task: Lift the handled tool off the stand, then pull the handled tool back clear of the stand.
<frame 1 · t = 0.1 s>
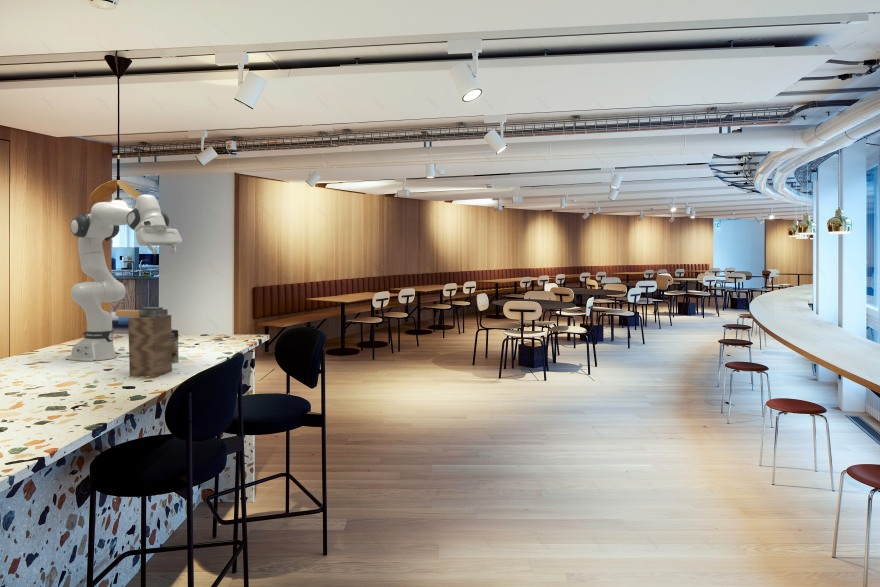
hand: (164, 253, 271), 54 cm above the countertop, tool tilted 30°, fingers open, 8 cm apart
stand: (151, 373, 271), on the countertop
coffee box: (167, 363, 296), on the countertop
handled tool: (137, 316, 269), point 26 cm above the countertop, touching stand
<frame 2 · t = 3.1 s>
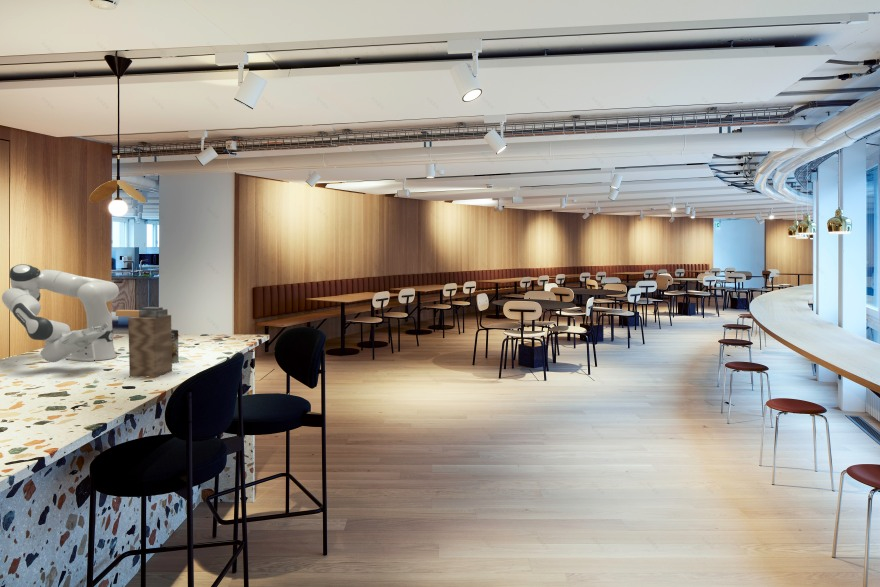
hand: (100, 326, 271), 21 cm above the countertop, tool pointing upward, fingers open, 8 cm apart
nothing on the countertop moved.
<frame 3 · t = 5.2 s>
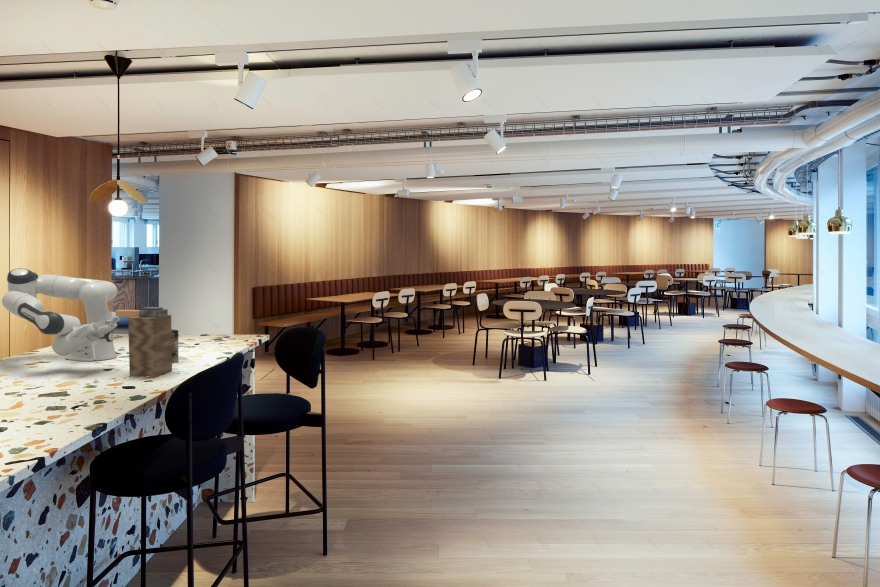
hand: (111, 320, 270), 24 cm above the countertop, tool pointing upward, fingers open, 8 cm apart
nothing on the countertop moved.
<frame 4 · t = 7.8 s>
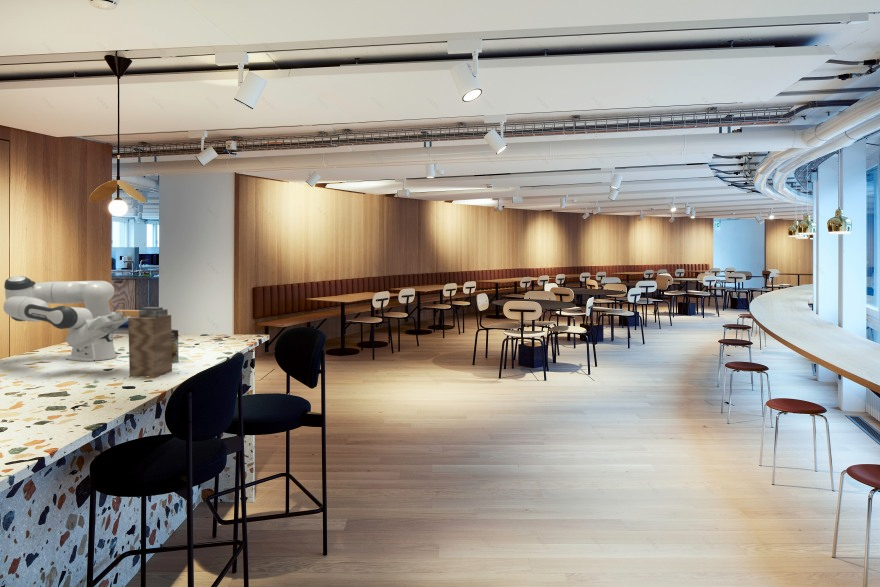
hand: (126, 312, 270), 28 cm above the countertop, tool pointing upward, fingers closed on handled tool, 3 cm apart
handled tool: (137, 316, 269), point 26 cm above the countertop, touching gripper, stand
everything else where it was.
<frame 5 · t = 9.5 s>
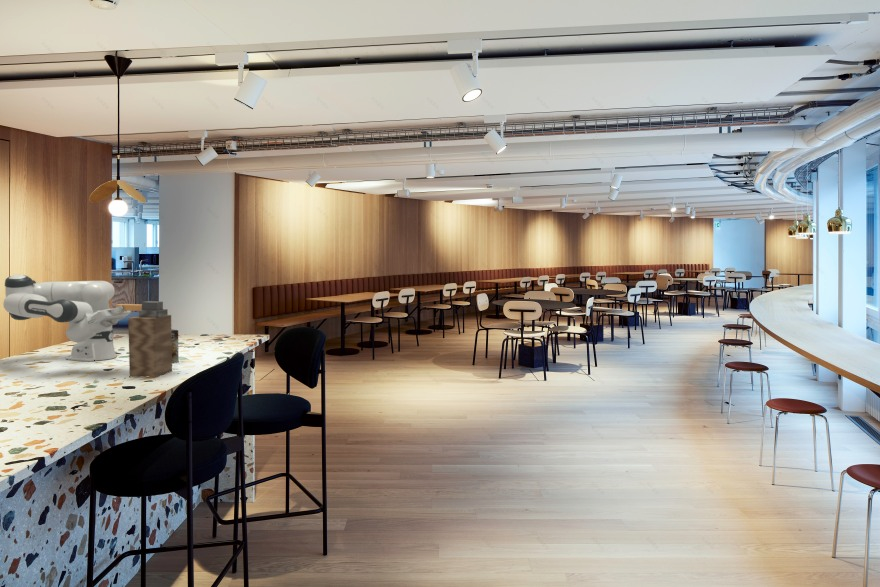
hand: (126, 306, 270), 30 cm above the countertop, tool pointing upward, fingers closed on handled tool, 3 cm apart
handled tool: (137, 310, 269), point 29 cm above the countertop, touching gripper
everything else where it was.
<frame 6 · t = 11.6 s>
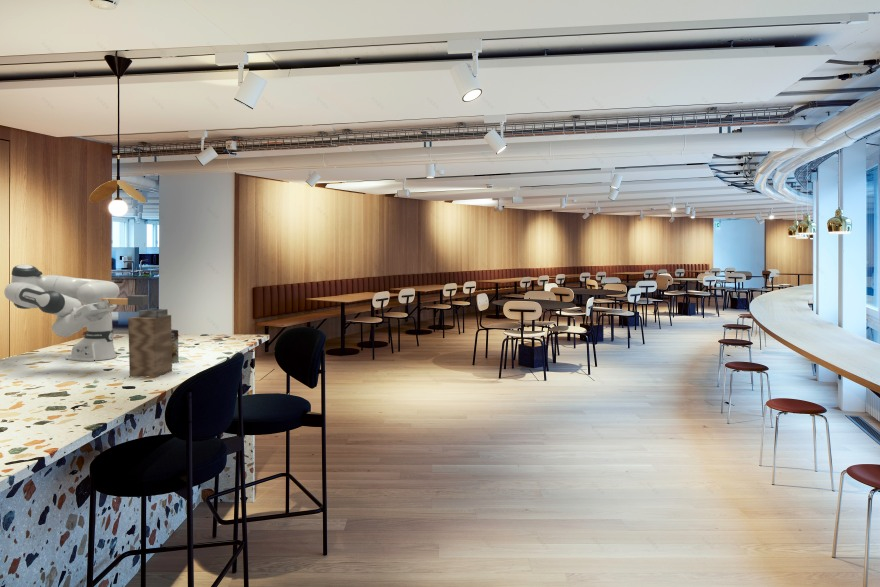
hand: (111, 300, 270), 33 cm above the countertop, tool pointing upward, fingers closed on handled tool, 3 cm apart
handled tool: (123, 304, 270), point 31 cm above the countertop, touching gripper
everything else where it was.
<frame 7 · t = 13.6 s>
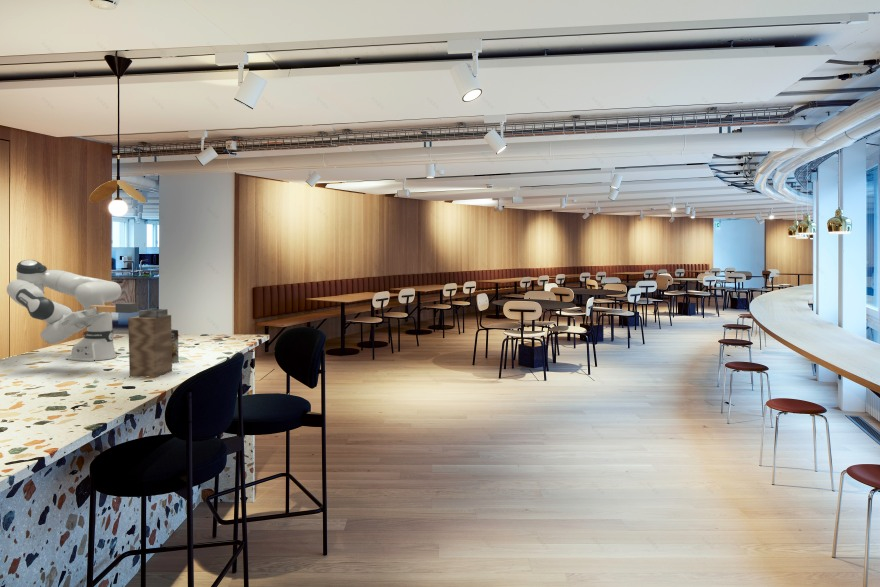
hand: (100, 307, 270), 29 cm above the countertop, tool pointing upward, fingers closed on handled tool, 3 cm apart
handled tool: (111, 311, 270), point 28 cm above the countertop, touching gripper
everything else where it was.
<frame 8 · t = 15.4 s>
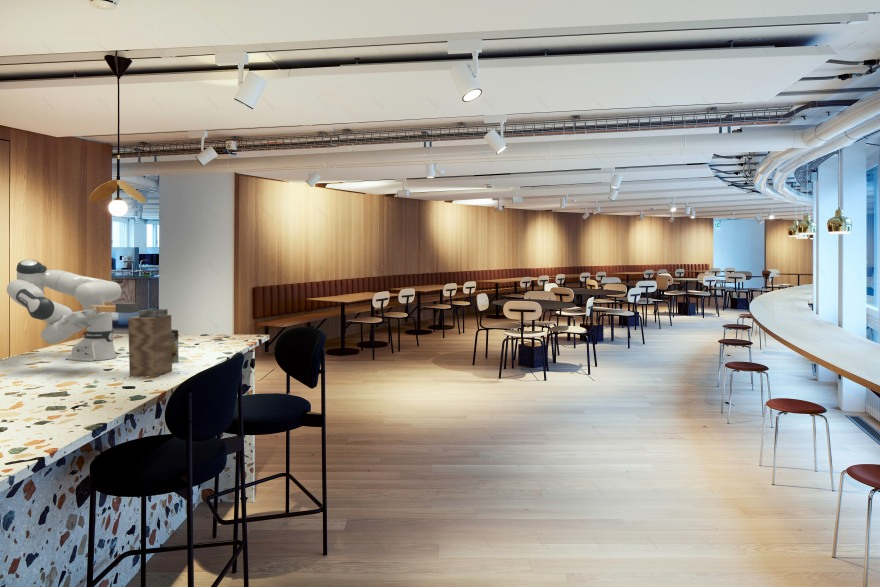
hand: (100, 307, 270), 29 cm above the countertop, tool pointing upward, fingers closed on handled tool, 3 cm apart
handled tool: (111, 311, 270), point 28 cm above the countertop, touching gripper
everything else where it was.
at the end: handled tool moved 12.1 cm from its start; handled tool touching gripper; the gripper is holding handled tool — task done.
